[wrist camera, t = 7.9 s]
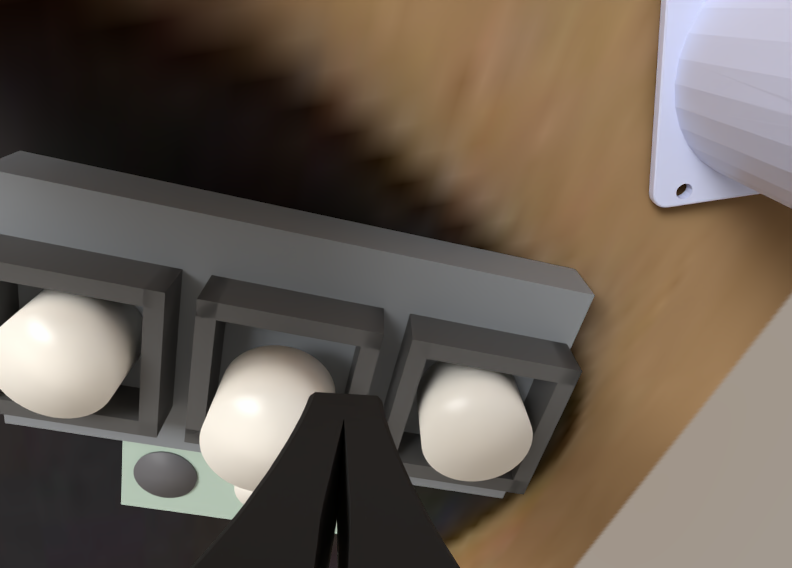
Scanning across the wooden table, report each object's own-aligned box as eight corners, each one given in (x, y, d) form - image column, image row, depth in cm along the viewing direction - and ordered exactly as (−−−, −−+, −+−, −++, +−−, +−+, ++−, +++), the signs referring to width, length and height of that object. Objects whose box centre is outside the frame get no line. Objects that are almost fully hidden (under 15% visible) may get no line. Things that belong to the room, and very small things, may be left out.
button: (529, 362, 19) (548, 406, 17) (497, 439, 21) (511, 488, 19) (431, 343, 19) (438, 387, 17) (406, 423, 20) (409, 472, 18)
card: (410, 465, 24) (411, 474, 24) (387, 533, 26) (388, 542, 26) (127, 421, 23) (121, 430, 22) (125, 496, 24) (120, 506, 24)
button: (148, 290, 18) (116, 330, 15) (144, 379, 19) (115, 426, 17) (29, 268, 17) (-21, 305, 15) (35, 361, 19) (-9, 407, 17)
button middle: (345, 356, 17) (340, 407, 15) (324, 443, 19) (317, 500, 16) (227, 335, 16) (204, 385, 14) (216, 426, 18) (194, 483, 16)
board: (575, 269, 20) (613, 320, 17) (493, 461, 24) (511, 532, 21) (20, 150, 17) (-61, 183, 14) (35, 388, 22) (-24, 455, 18)
